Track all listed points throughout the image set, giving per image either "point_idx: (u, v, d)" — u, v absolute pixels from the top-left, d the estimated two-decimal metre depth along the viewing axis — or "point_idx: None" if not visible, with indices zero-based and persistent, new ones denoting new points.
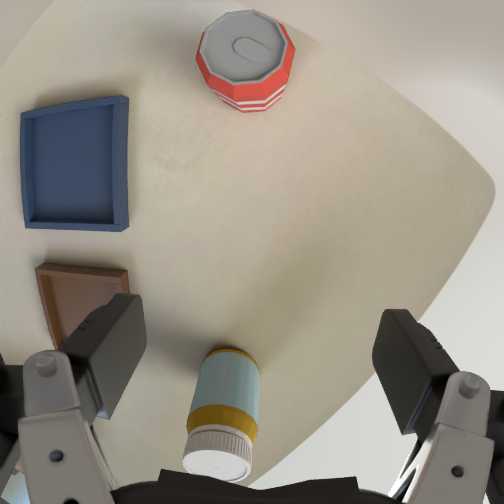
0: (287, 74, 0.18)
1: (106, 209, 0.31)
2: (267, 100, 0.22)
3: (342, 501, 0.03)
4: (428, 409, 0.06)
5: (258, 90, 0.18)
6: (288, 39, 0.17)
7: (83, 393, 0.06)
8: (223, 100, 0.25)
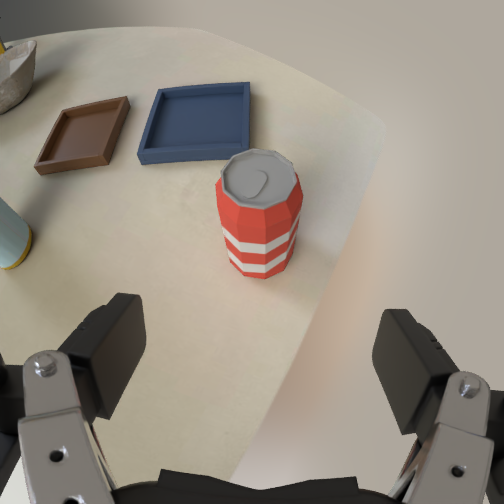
0: (237, 221, 0.21)
1: (158, 147, 0.38)
2: (225, 234, 0.26)
3: (342, 501, 0.03)
4: (428, 409, 0.06)
5: (219, 198, 0.22)
6: (274, 219, 0.21)
7: (83, 393, 0.06)
8: None
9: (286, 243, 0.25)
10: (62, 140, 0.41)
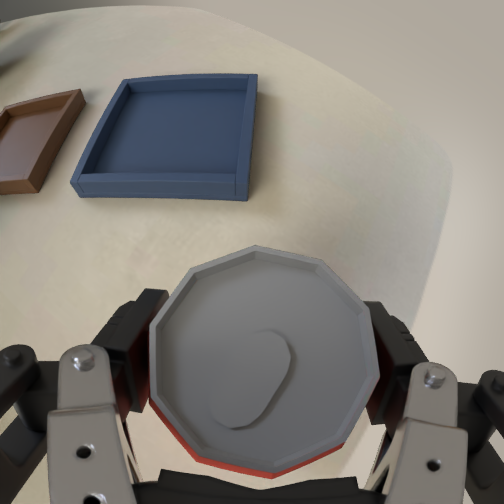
0: (197, 459, 0.07)
1: (105, 169, 0.23)
2: None
3: (342, 501, 0.03)
4: (394, 399, 0.07)
5: None
6: (297, 465, 0.06)
7: (120, 386, 0.07)
8: None
9: None
10: None
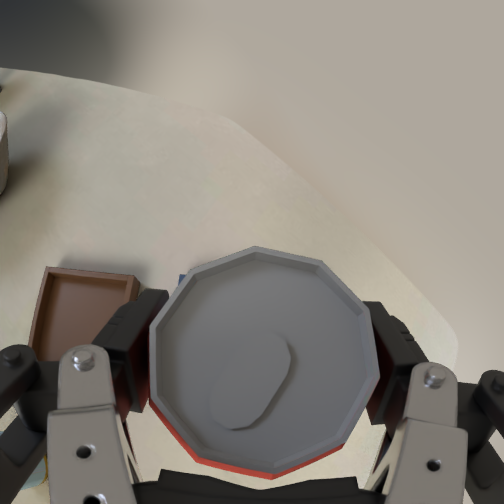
0: (197, 460, 0.07)
1: None
2: None
3: (342, 501, 0.03)
4: (394, 399, 0.07)
5: None
6: (297, 466, 0.06)
7: (120, 386, 0.07)
8: None
9: None
10: (53, 322, 0.31)
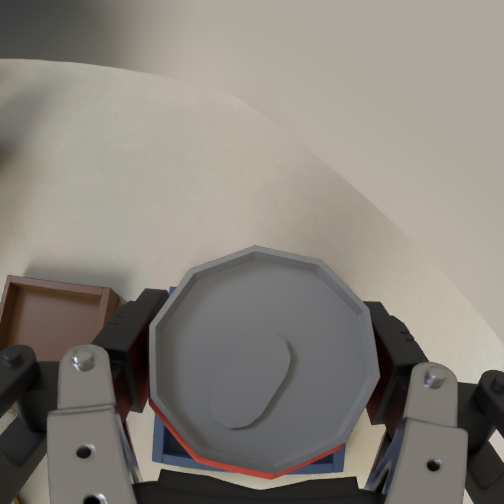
0: (197, 460, 0.07)
1: None
2: None
3: (342, 501, 0.03)
4: (394, 399, 0.07)
5: None
6: (297, 465, 0.06)
7: (120, 386, 0.07)
8: None
9: None
10: (17, 344, 0.23)
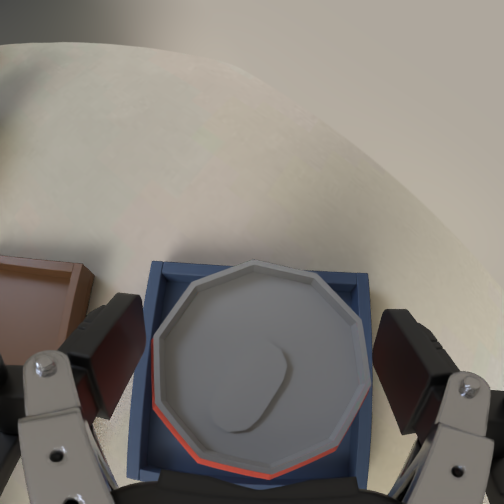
0: (198, 461, 0.07)
1: (167, 445, 0.16)
2: None
3: (342, 501, 0.03)
4: (428, 409, 0.06)
5: None
6: (293, 467, 0.07)
7: (83, 393, 0.06)
8: None
9: None
10: None
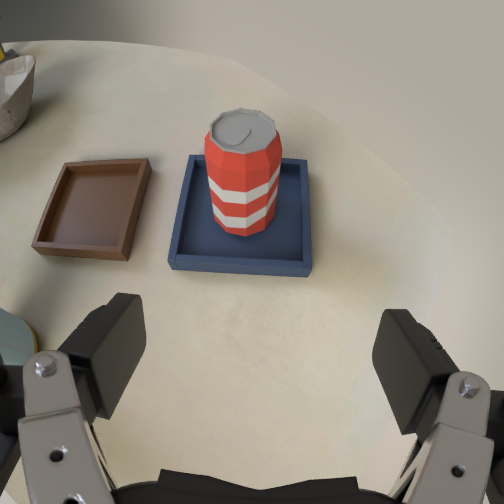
0: (220, 165, 0.23)
1: (192, 247, 0.32)
2: (210, 185, 0.27)
3: (342, 501, 0.03)
4: (428, 409, 0.06)
5: (207, 146, 0.24)
6: (253, 165, 0.23)
7: (83, 393, 0.06)
8: None
9: (266, 196, 0.27)
10: (65, 208, 0.34)
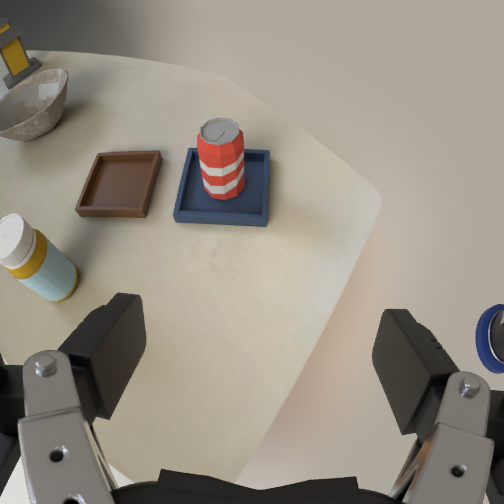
0: (206, 152, 0.39)
1: (189, 207, 0.48)
2: (201, 165, 0.43)
3: (342, 501, 0.03)
4: (428, 409, 0.06)
5: (198, 141, 0.40)
6: (225, 151, 0.39)
7: (83, 393, 0.06)
8: None
9: (235, 171, 0.43)
10: (99, 184, 0.50)
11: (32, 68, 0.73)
